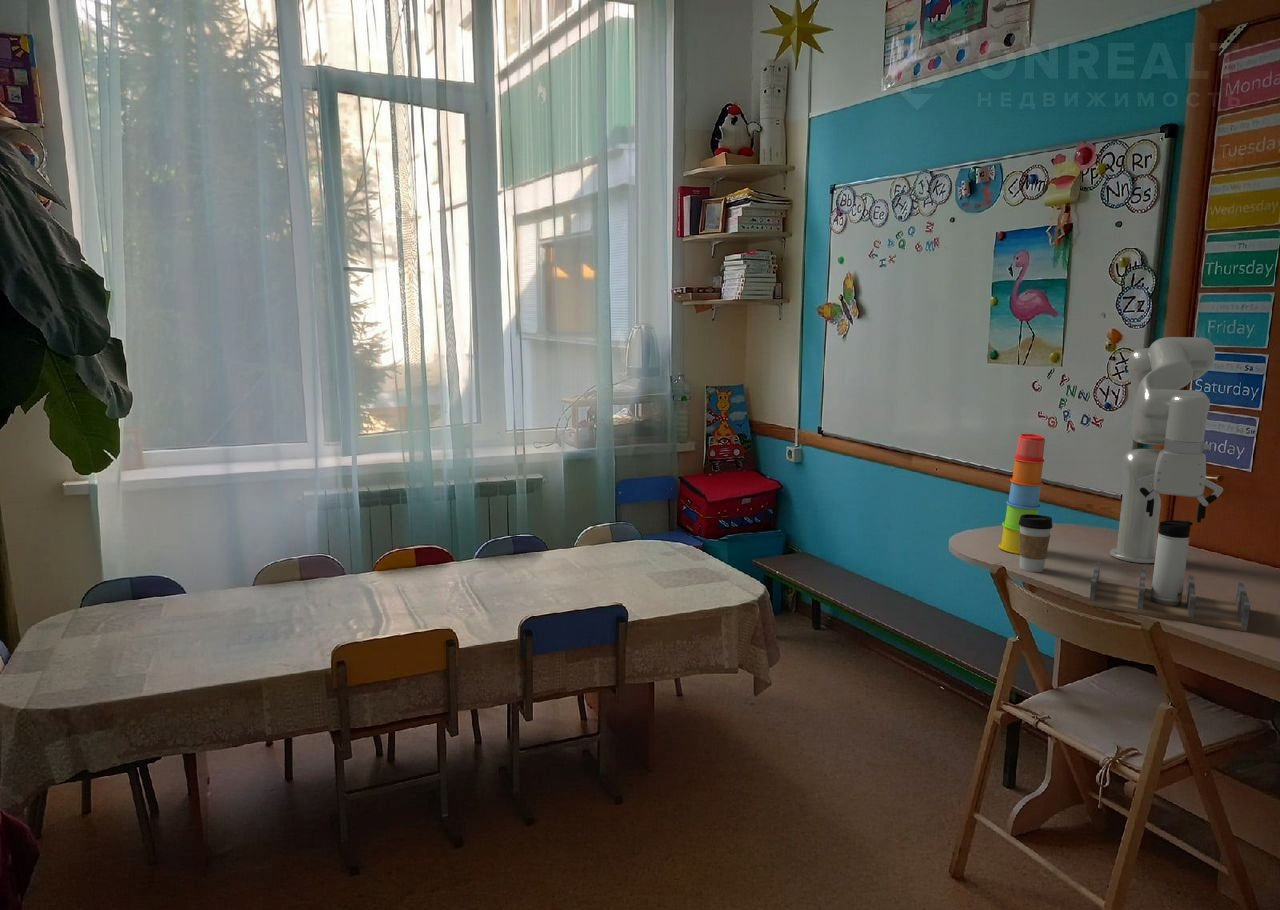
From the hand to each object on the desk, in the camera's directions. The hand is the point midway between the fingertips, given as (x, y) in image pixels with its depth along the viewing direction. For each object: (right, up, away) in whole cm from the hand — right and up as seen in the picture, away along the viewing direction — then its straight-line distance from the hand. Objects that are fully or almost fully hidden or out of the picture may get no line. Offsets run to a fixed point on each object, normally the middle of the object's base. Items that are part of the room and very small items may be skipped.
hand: (1174, 518), depth 197 cm
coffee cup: (-19, -17, +32) cm, 41 cm away
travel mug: (0, -20, +3) cm, 21 cm away
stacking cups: (-15, -13, +50) cm, 54 cm away
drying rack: (0, -21, +3) cm, 22 cm away
